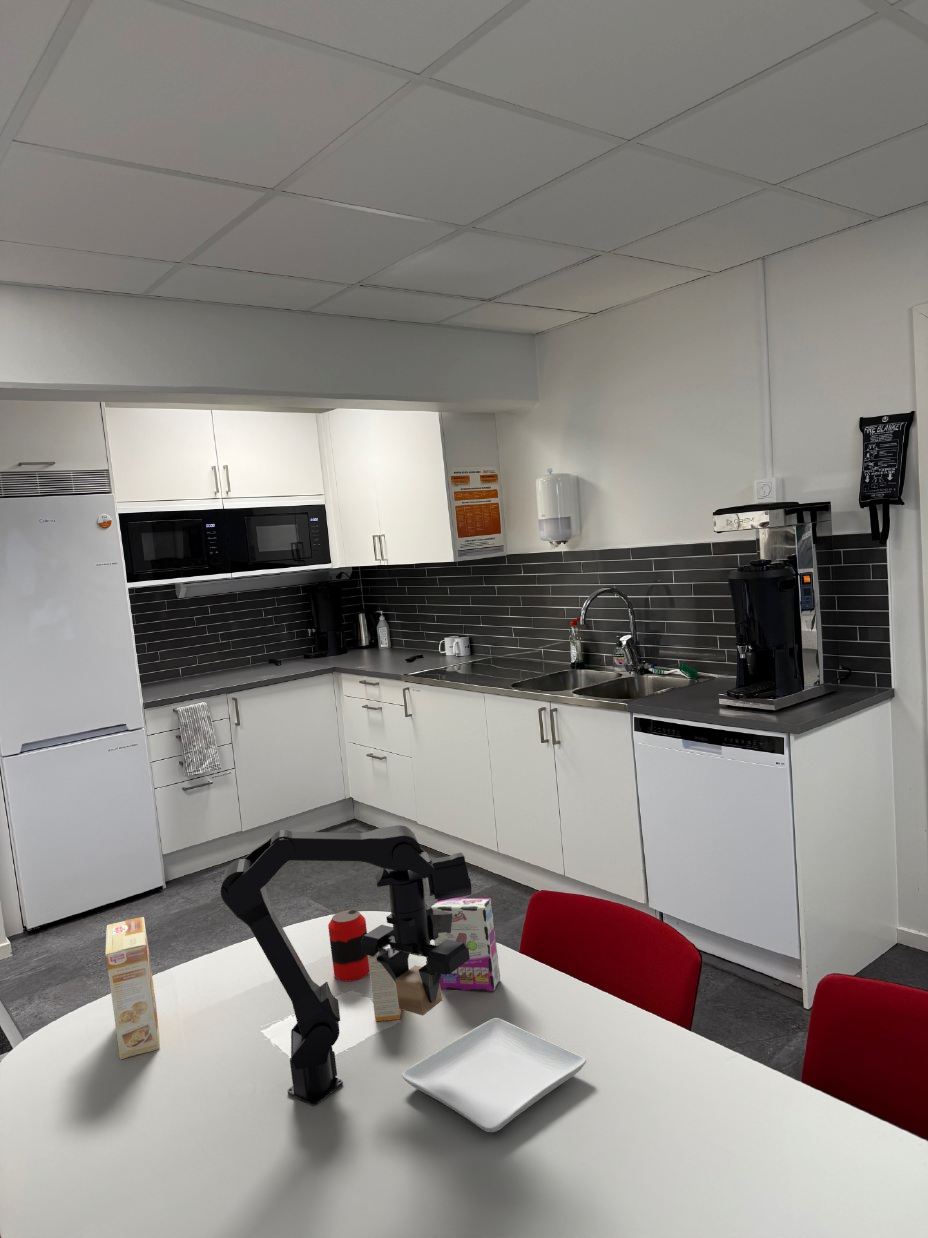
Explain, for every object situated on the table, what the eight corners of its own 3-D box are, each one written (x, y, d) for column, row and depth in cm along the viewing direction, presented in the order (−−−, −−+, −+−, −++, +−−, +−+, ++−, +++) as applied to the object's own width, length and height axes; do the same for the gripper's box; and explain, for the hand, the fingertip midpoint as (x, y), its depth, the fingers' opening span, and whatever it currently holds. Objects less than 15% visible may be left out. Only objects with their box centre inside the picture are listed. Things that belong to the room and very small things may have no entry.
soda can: (378, 967, 177) (372, 911, 177) (355, 985, 171) (348, 926, 170) (350, 961, 181) (343, 906, 181) (326, 978, 175) (319, 921, 174)
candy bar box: (501, 979, 167) (492, 897, 166) (494, 993, 162) (485, 908, 161) (446, 977, 170) (437, 896, 169) (438, 990, 165) (429, 907, 164)
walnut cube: (422, 1015, 137) (419, 985, 137) (399, 1008, 140) (395, 979, 140) (442, 1000, 141) (438, 971, 141) (418, 994, 144) (415, 965, 144)
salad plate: (399, 1092, 135) (397, 1072, 135) (497, 1033, 149) (495, 1014, 149) (492, 1153, 119) (490, 1129, 119) (591, 1080, 133) (589, 1058, 133)
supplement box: (401, 1020, 156) (393, 950, 155) (374, 1022, 156) (366, 952, 155) (405, 996, 164) (397, 930, 163) (380, 999, 164) (372, 932, 163)
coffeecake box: (161, 1049, 155) (146, 944, 153) (118, 1061, 152) (103, 954, 151) (158, 1011, 169) (144, 915, 167) (119, 1022, 166) (105, 924, 165)
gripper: (483, 895, 140) (495, 987, 141) (397, 880, 151) (408, 965, 152) (441, 923, 131) (454, 1021, 132) (353, 905, 142) (365, 995, 144)
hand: (420, 998), depth 140 cm, fingers closed on walnut cube, 5 cm apart
